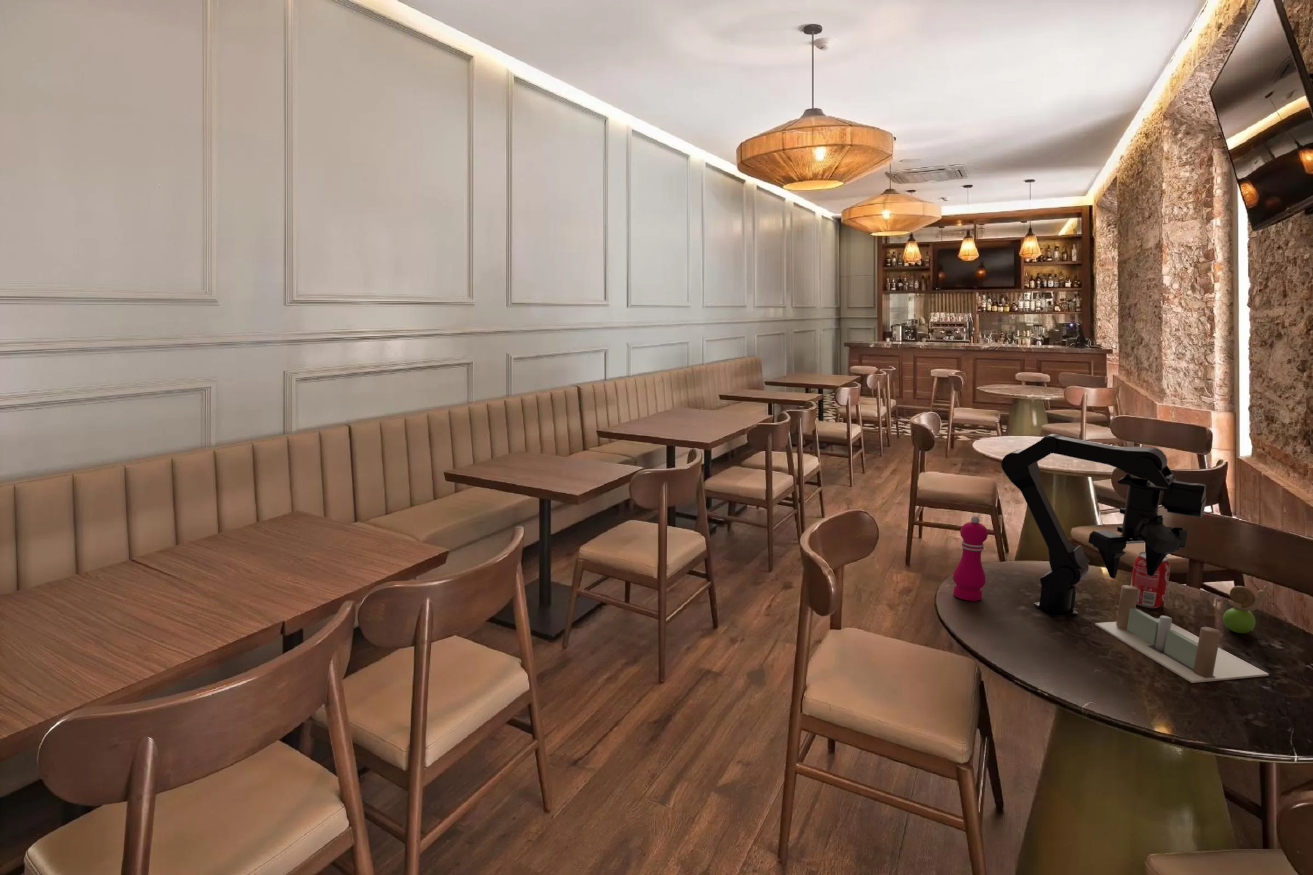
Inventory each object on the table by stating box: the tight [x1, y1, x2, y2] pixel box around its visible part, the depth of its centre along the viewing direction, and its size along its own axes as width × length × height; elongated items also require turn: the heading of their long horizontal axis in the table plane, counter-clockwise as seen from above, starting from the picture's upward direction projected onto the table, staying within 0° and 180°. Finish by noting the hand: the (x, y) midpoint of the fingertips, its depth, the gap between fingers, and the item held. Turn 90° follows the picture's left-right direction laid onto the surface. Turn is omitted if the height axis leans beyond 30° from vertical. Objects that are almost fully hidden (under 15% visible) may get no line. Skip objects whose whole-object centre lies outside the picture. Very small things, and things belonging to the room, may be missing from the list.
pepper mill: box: [952, 515, 989, 602], centre depth 168 cm, size 7×7×20 cm
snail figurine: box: [1222, 585, 1269, 634], centre depth 151 cm, size 5×6×12 cm
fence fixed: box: [1155, 615, 1221, 677], centre depth 138 cm, size 12×3×9 cm, turn 9°
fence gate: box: [1115, 584, 1159, 645], centre depth 149 cm, size 10×3×9 cm, turn 9°
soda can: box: [1130, 551, 1171, 609], centre depth 165 cm, size 7×7×12 cm
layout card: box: [1094, 617, 1269, 684], centre depth 145 cm, size 17×24×1 cm
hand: (1131, 576), depth 151 cm, fingers open, 9 cm apart
